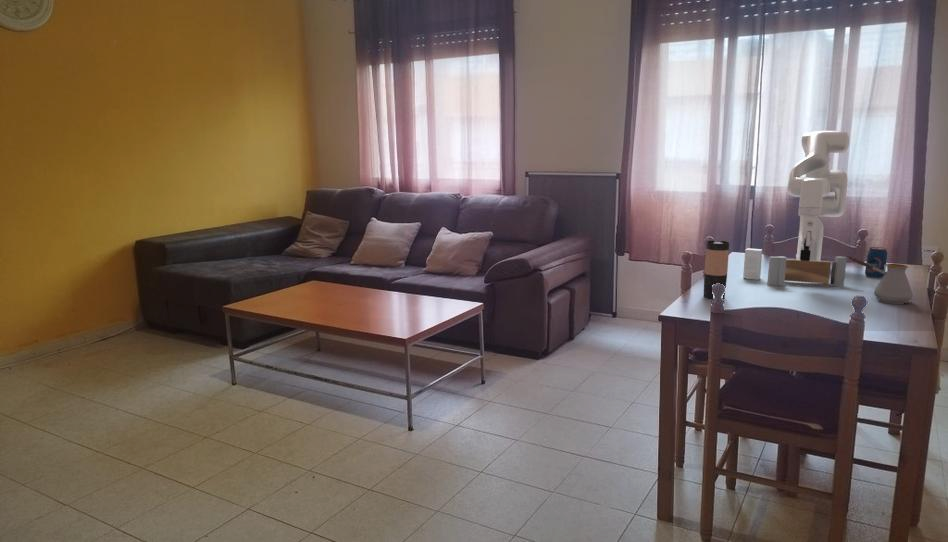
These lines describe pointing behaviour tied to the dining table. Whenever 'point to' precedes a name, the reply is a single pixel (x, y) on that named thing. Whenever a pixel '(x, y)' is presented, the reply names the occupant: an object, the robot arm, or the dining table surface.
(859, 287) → the dining table surface
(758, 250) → the skincare box
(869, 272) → the soda can
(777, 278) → the doorframe
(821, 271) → the door
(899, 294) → the coffee pot
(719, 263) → the travel mug
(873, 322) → the dining table surface
